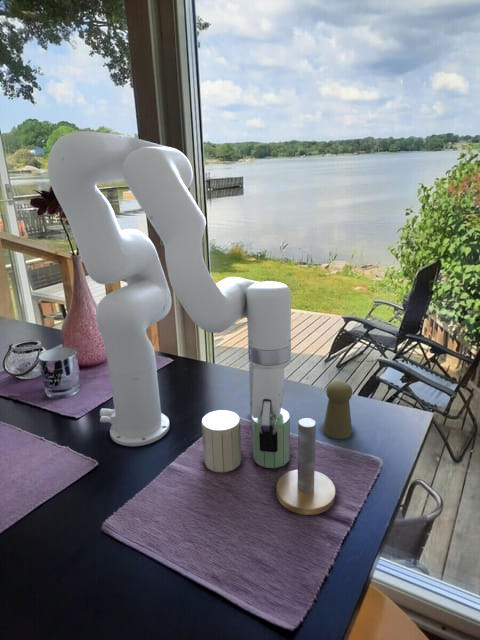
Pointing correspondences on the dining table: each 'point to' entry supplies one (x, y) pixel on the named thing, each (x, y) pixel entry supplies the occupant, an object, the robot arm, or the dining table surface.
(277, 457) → the green grooved cylinder
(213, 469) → the cup
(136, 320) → the robot arm
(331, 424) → the olive pawn figure
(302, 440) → the disc
